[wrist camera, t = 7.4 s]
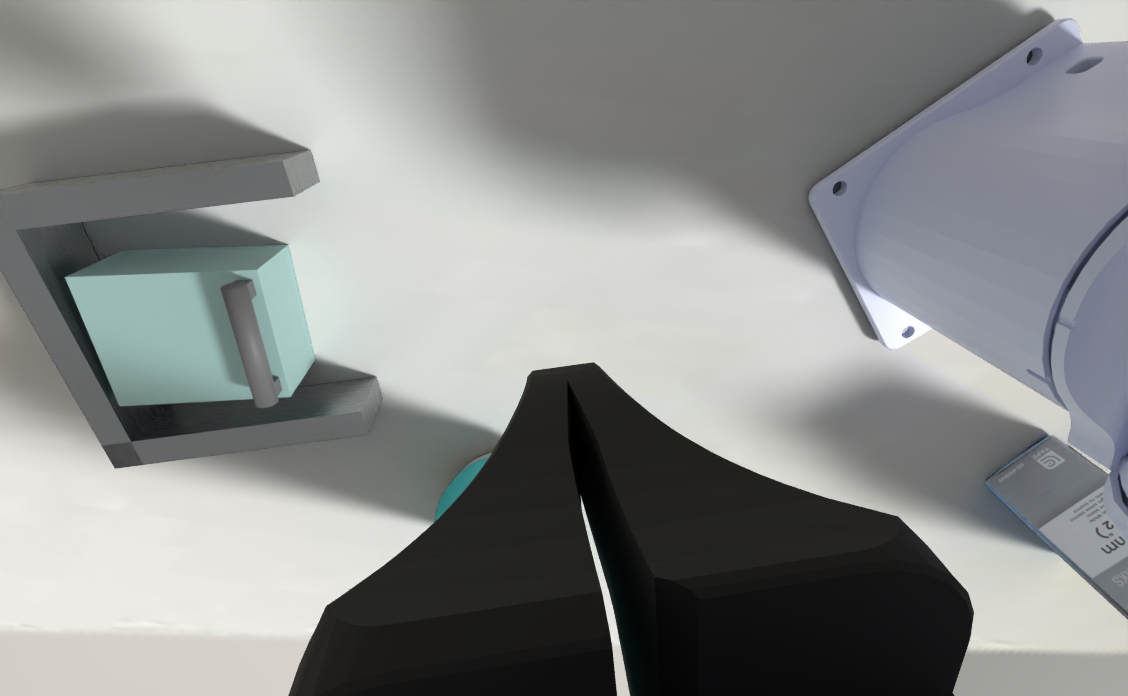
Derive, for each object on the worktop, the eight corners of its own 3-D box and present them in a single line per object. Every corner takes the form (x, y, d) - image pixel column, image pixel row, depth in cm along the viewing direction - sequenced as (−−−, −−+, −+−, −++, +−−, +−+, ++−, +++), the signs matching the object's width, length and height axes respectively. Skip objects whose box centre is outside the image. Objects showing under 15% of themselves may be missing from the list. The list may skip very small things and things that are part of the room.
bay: (310, 149, 18) (282, 160, 16) (382, 398, 23) (368, 434, 20) (28, 183, 18) (-40, 199, 16) (154, 428, 22) (114, 468, 20)
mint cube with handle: (290, 242, 20) (242, 281, 16) (317, 356, 22) (279, 414, 18) (126, 248, 19) (38, 289, 16) (168, 364, 21) (98, 424, 18)
